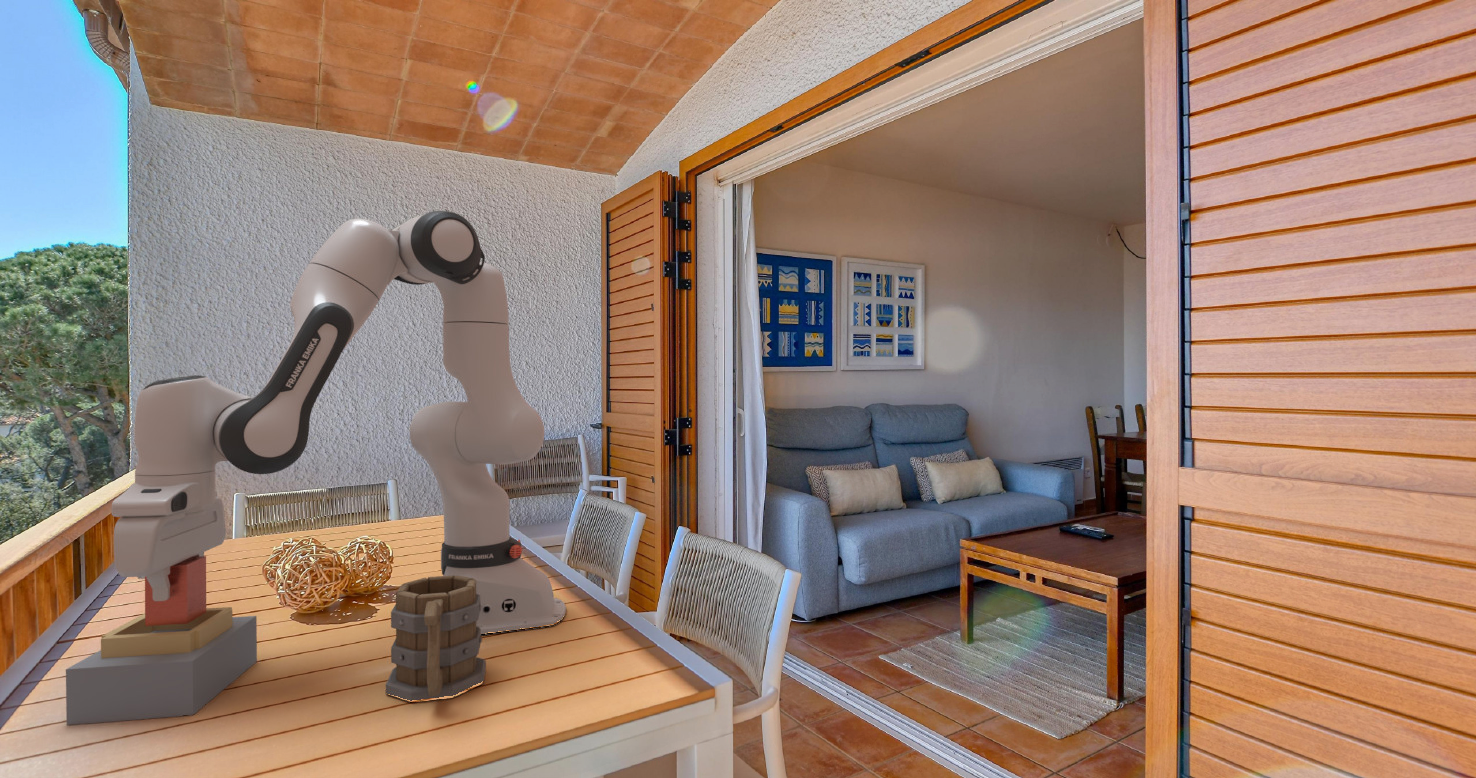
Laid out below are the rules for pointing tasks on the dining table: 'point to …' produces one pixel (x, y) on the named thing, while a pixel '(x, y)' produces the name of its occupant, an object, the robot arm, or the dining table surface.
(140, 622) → the grey box
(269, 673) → the dining table surface
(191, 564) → the red rectangular block
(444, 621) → the tankard
